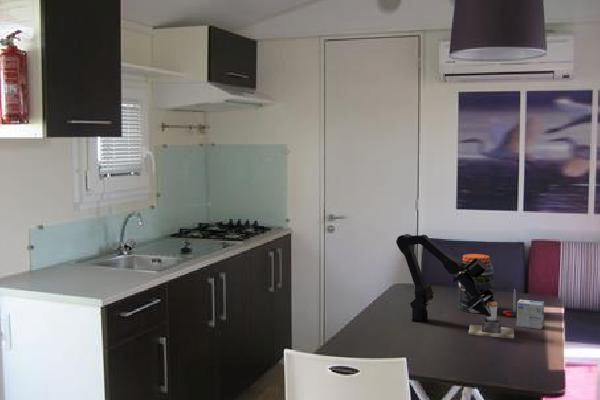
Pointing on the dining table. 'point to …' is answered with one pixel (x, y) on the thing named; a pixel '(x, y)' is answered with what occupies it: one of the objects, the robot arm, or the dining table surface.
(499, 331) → the block
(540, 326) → the light bulb box
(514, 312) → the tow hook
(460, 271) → the robot arm
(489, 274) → the supplement tub
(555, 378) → the dining table surface
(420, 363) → the dining table surface
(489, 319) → the pin
